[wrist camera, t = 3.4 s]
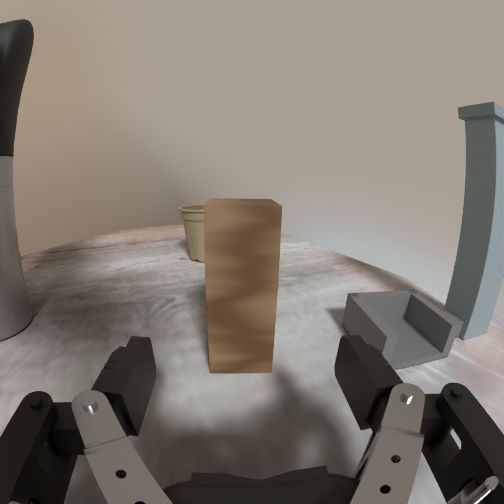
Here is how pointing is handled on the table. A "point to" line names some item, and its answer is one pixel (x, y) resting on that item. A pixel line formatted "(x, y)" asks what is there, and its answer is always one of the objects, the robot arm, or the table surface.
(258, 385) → the table surface
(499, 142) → the tall capped pillar
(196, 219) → the flower pot
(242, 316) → the tall brown wooden block
